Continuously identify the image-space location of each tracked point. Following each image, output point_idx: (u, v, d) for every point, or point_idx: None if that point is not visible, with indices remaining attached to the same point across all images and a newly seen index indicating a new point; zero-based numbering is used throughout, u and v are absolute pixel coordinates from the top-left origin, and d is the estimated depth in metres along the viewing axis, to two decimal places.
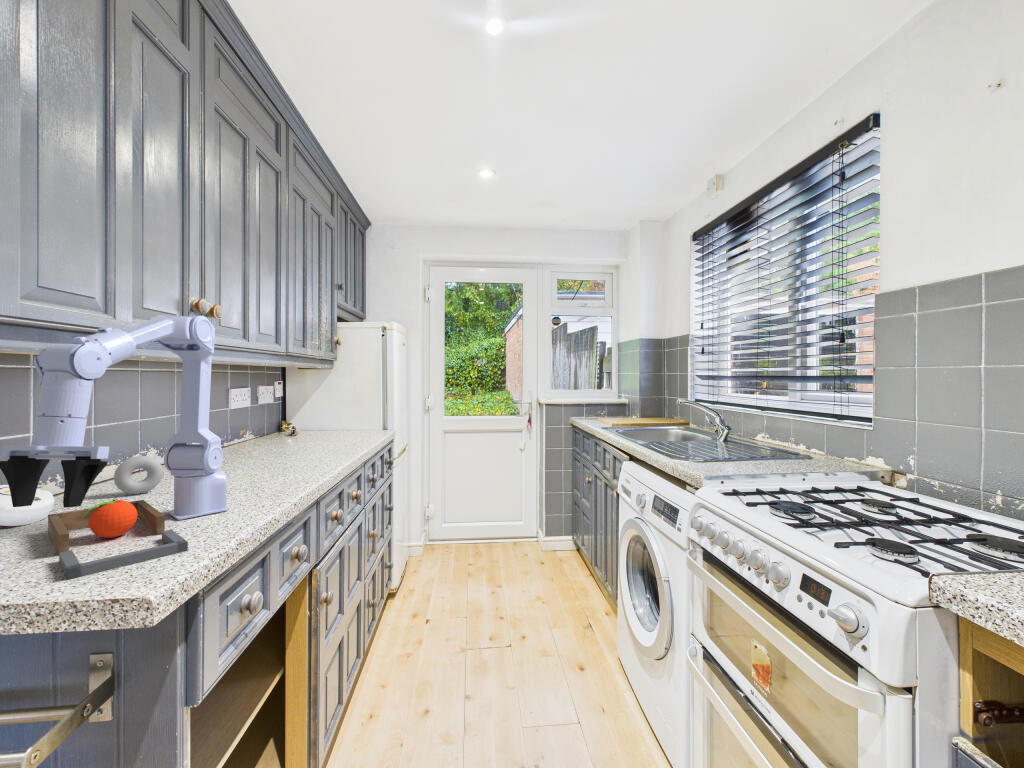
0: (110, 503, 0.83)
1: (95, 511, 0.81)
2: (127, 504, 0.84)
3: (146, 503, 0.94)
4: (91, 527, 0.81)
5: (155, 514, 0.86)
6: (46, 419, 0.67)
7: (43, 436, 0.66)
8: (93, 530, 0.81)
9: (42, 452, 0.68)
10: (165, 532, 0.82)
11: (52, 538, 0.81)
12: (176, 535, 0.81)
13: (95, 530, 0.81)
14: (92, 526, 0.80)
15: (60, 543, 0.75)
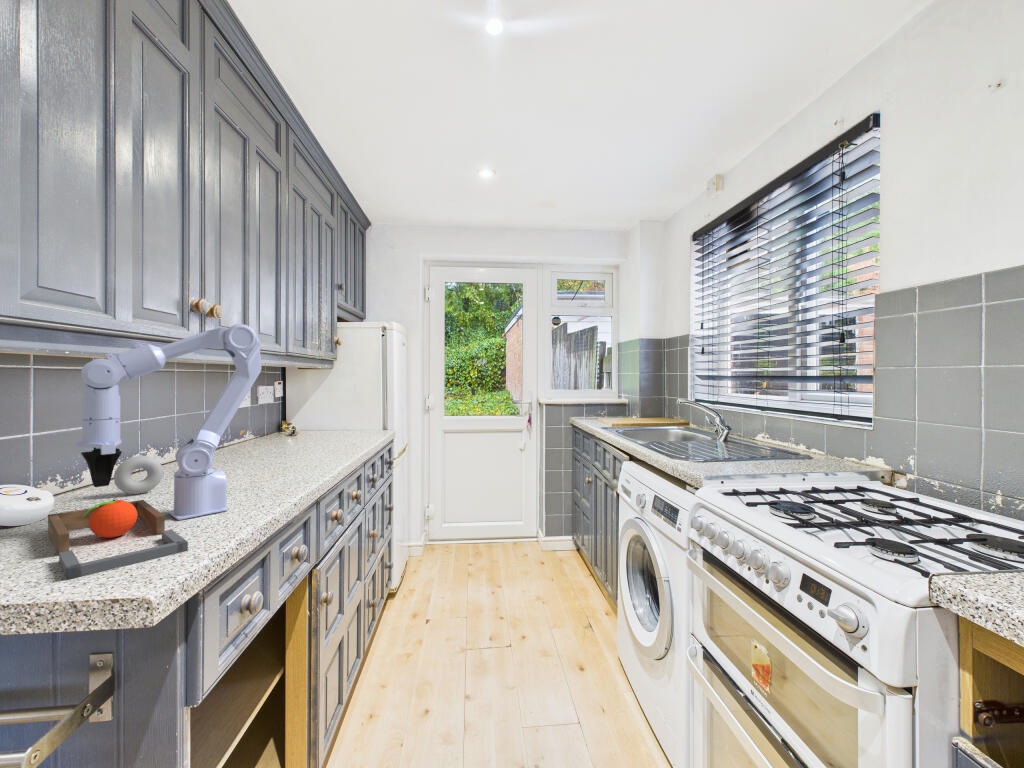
0: (110, 503, 0.83)
1: (95, 511, 0.81)
2: (127, 504, 0.84)
3: (146, 503, 0.94)
4: (91, 527, 0.81)
5: (155, 514, 0.86)
6: (82, 422, 0.86)
7: (82, 435, 0.86)
8: (93, 530, 0.81)
9: None
10: (165, 532, 0.82)
11: (52, 538, 0.81)
12: (176, 535, 0.81)
13: (95, 530, 0.81)
14: (92, 526, 0.80)
15: (60, 543, 0.75)
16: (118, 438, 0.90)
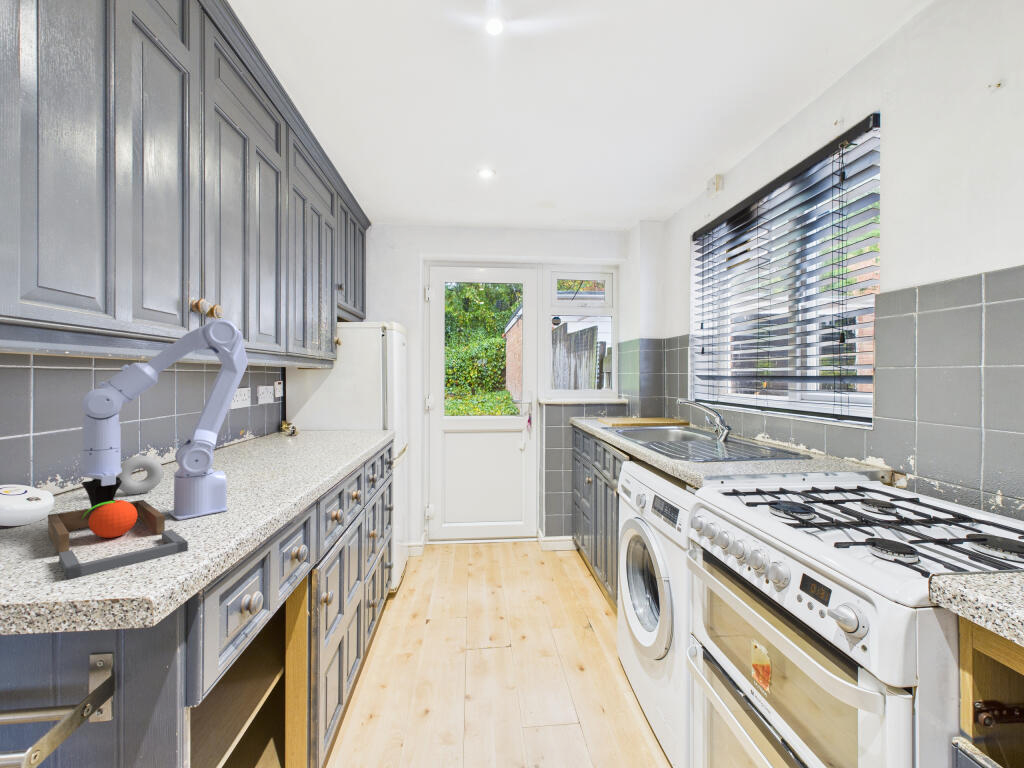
0: (110, 503, 0.83)
1: (95, 511, 0.81)
2: (127, 504, 0.84)
3: (146, 503, 0.94)
4: (91, 527, 0.81)
5: (155, 514, 0.86)
6: (83, 452, 0.86)
7: (82, 465, 0.86)
8: (93, 530, 0.81)
9: None
10: (165, 532, 0.82)
11: (52, 538, 0.81)
12: (176, 535, 0.81)
13: (95, 530, 0.81)
14: (92, 526, 0.80)
15: (60, 543, 0.75)
16: (118, 467, 0.90)
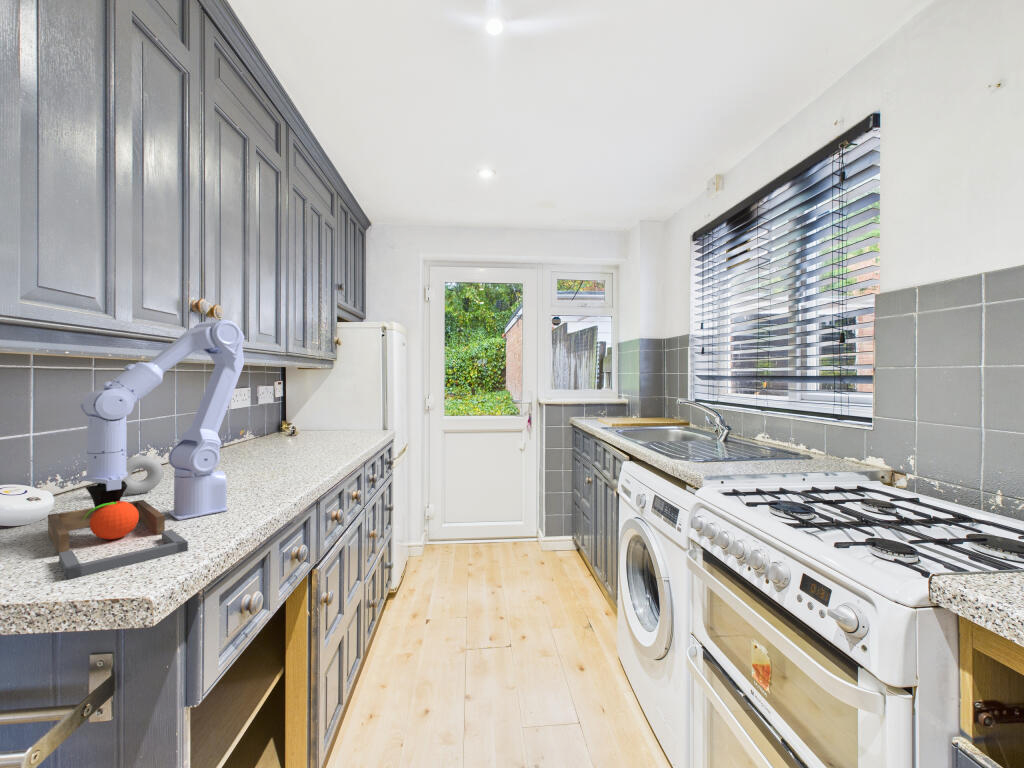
0: (111, 504, 0.82)
1: (96, 512, 0.80)
2: (129, 505, 0.83)
3: (146, 503, 0.94)
4: (92, 528, 0.80)
5: (155, 514, 0.86)
6: (87, 455, 0.83)
7: (87, 469, 0.83)
8: (94, 532, 0.80)
9: None
10: (165, 532, 0.82)
11: (52, 538, 0.81)
12: (176, 535, 0.81)
13: (96, 532, 0.80)
14: (93, 527, 0.80)
15: (60, 543, 0.75)
16: (124, 471, 0.86)
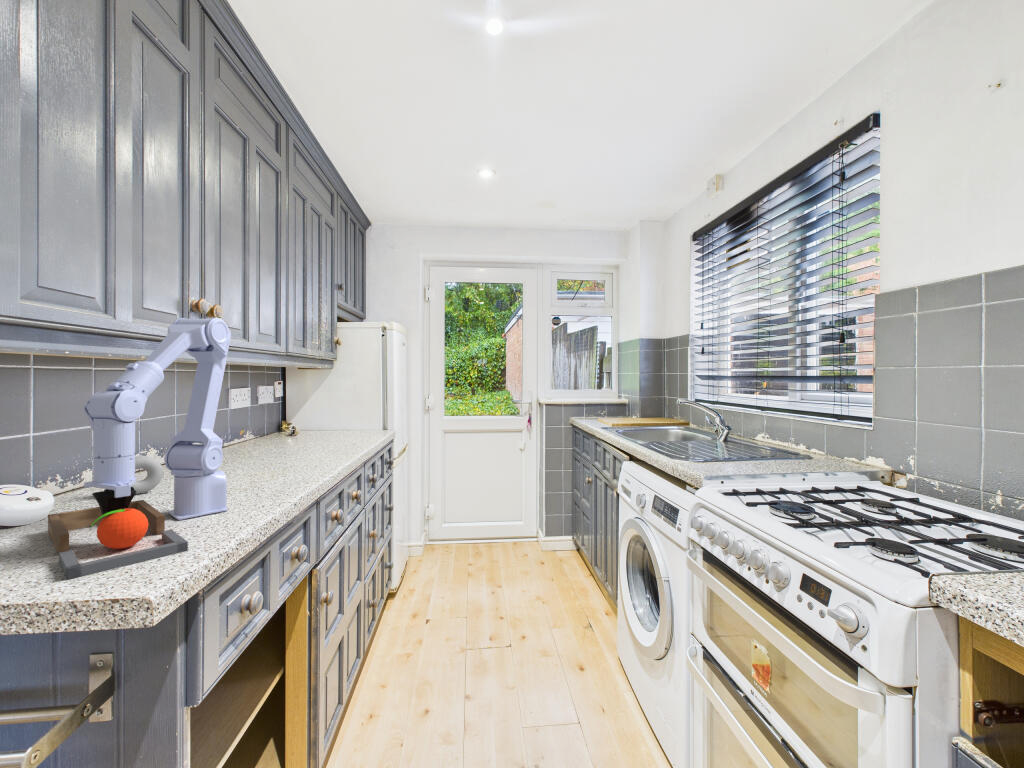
0: (119, 512, 0.77)
1: (103, 520, 0.76)
2: (137, 512, 0.79)
3: (146, 503, 0.94)
4: (99, 538, 0.75)
5: (155, 514, 0.86)
6: (94, 460, 0.78)
7: (94, 474, 0.78)
8: (101, 541, 0.75)
9: None
10: (165, 532, 0.82)
11: (52, 538, 0.81)
12: (176, 535, 0.81)
13: (103, 541, 0.75)
14: (101, 536, 0.75)
15: (60, 543, 0.75)
16: (133, 476, 0.82)
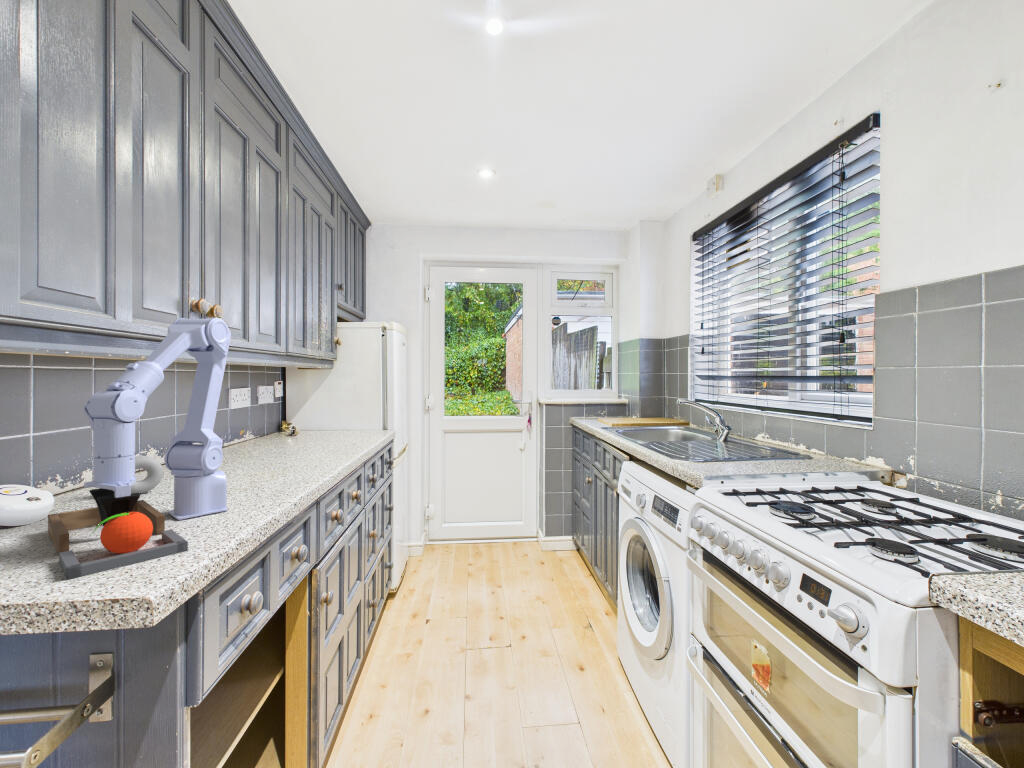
0: (124, 515, 0.75)
1: (107, 524, 0.74)
2: (142, 516, 0.77)
3: (146, 503, 0.94)
4: (103, 542, 0.73)
5: (155, 514, 0.86)
6: (94, 460, 0.78)
7: (94, 474, 0.78)
8: (105, 545, 0.73)
9: None
10: (165, 532, 0.82)
11: (52, 538, 0.81)
12: (176, 535, 0.81)
13: (107, 546, 0.73)
14: (104, 541, 0.73)
15: (60, 543, 0.75)
16: (133, 476, 0.82)
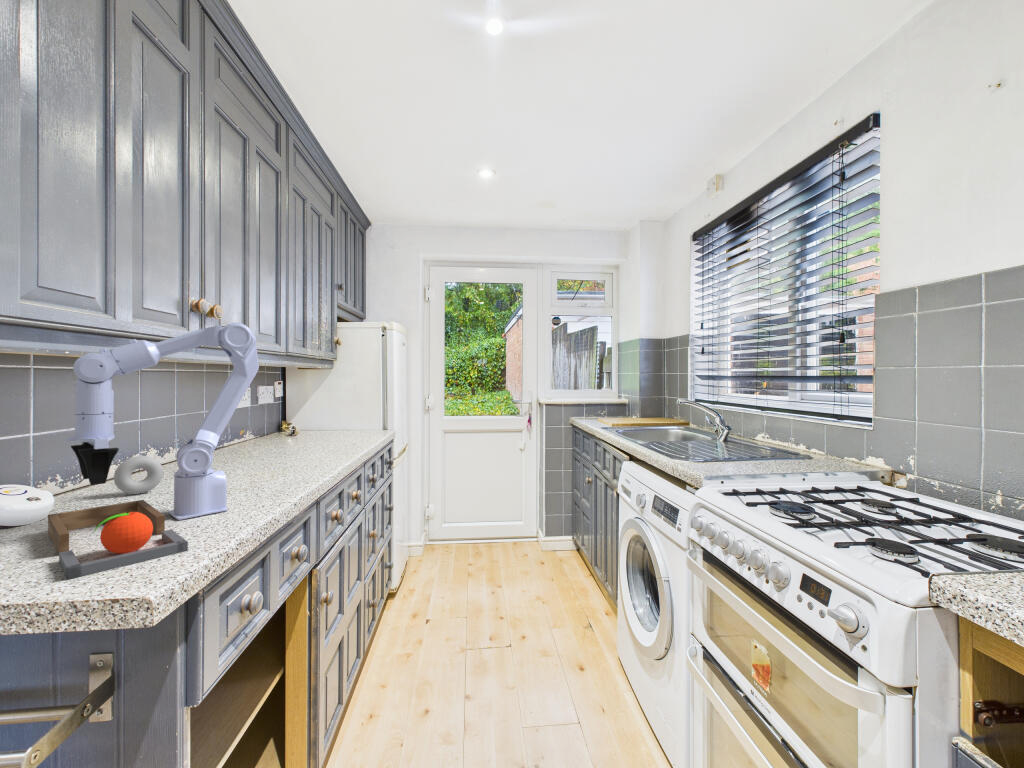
0: (124, 516, 0.75)
1: (107, 525, 0.74)
2: (142, 516, 0.77)
3: (146, 503, 0.94)
4: (103, 542, 0.73)
5: (155, 514, 0.86)
6: (75, 416, 0.86)
7: (75, 429, 0.86)
8: (105, 546, 0.73)
9: None
10: (165, 532, 0.82)
11: (52, 538, 0.81)
12: (176, 535, 0.81)
13: (107, 546, 0.73)
14: (104, 541, 0.73)
15: (60, 543, 0.75)
16: (111, 433, 0.89)
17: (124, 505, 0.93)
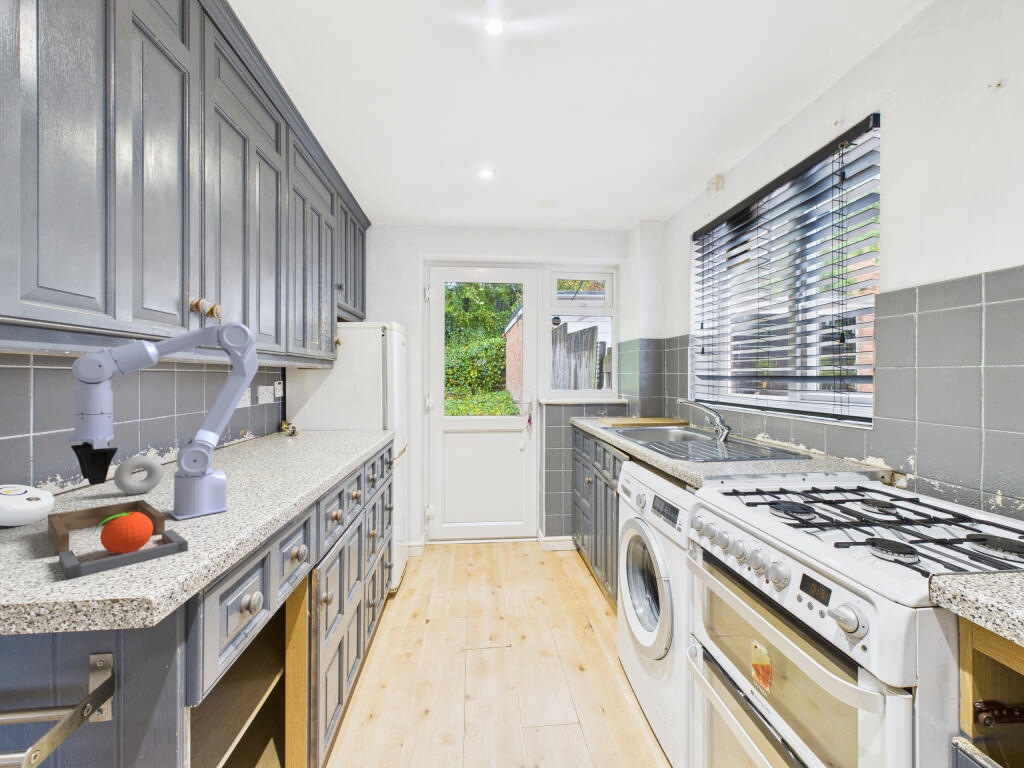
0: (124, 516, 0.75)
1: (107, 525, 0.74)
2: (142, 516, 0.77)
3: (146, 503, 0.94)
4: (103, 542, 0.73)
5: (155, 514, 0.86)
6: (75, 416, 0.86)
7: (74, 429, 0.86)
8: (105, 546, 0.73)
9: None
10: (165, 532, 0.82)
11: (52, 538, 0.81)
12: (176, 535, 0.81)
13: (107, 546, 0.73)
14: (104, 541, 0.73)
15: (60, 543, 0.75)
16: (111, 433, 0.90)
17: (124, 505, 0.93)
